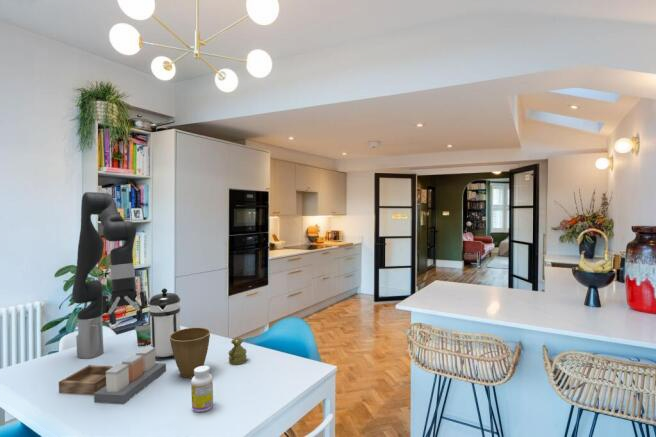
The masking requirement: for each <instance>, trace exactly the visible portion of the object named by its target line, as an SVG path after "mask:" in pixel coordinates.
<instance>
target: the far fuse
mask: <svg viewBox="0 0 656 437" xmlns="http://www.w3.org/2000/svg"><path fill="white" fill-rule="evenodd" d="M135 355H142V356H143V372H147V371H149V370H150V369H151V368H153V367H154V366H156V363H157V361H156V360H157V359H156V360H155V357H156V356H155V347H151V346H144V348H142V349H140V350H139V351H137V352H136V353H135Z"/></svg>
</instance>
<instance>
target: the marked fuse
mask: <svg viewBox="0 0 656 437" xmlns="http://www.w3.org/2000/svg"><path fill="white" fill-rule="evenodd" d="M121 364H127V365H128V368H129V382H133V381H135V380H136V379H138V378H139V377H140V376H142V375H143V356H142V355H136V354H133V355H131V356H129V357H128V358H126V359H124V360H122V361H121Z"/></svg>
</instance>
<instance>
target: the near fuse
mask: <svg viewBox="0 0 656 437" xmlns="http://www.w3.org/2000/svg"><path fill="white" fill-rule="evenodd" d="M113 366H114V367H113V368H111V369H109V370H108V371H106V390H107V392H110V393H118V392H120V391H121V390H122V389H124V388H125V387H126V386H128V385H129V368H128V365H127V364H122V363H118V364H116V365H113Z"/></svg>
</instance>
